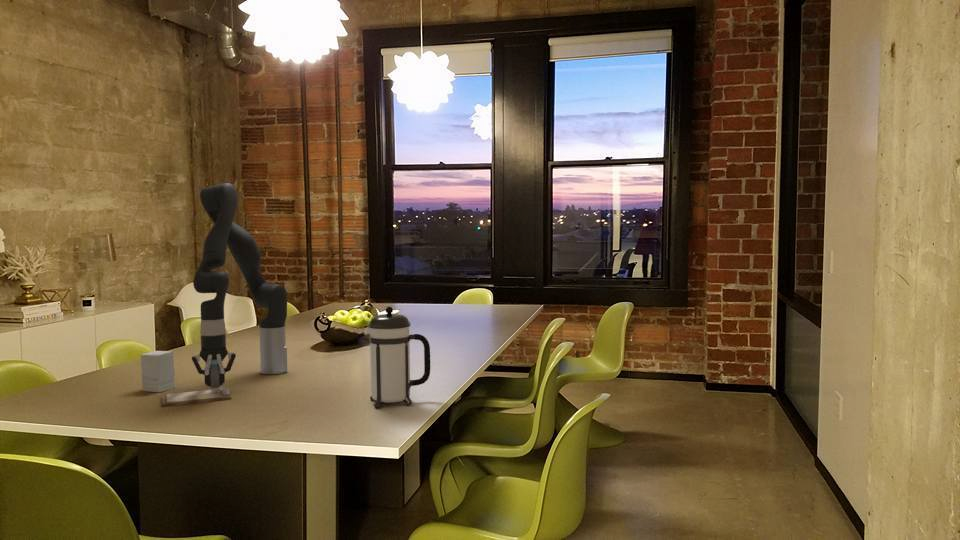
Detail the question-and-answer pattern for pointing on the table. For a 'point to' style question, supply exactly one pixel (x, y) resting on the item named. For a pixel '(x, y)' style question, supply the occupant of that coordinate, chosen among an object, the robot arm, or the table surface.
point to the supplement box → (157, 371)
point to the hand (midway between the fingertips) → (214, 385)
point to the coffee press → (393, 358)
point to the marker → (214, 376)
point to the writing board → (195, 397)
